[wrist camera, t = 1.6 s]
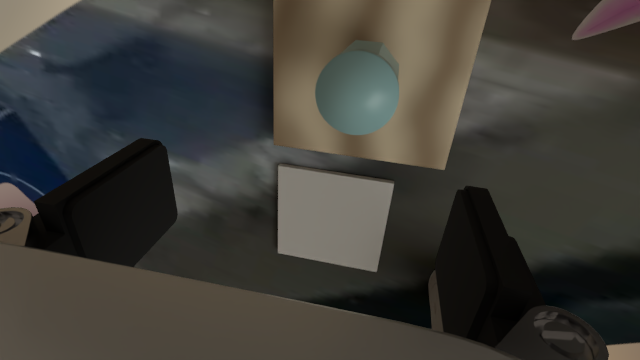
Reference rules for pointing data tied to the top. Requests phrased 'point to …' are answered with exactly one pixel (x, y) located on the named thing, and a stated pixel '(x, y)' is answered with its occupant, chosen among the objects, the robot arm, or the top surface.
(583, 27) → the lily
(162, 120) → the top surface
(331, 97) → the cap
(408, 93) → the post block
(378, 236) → the grey mat
